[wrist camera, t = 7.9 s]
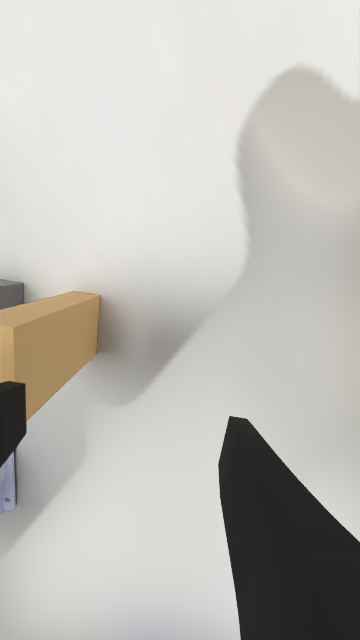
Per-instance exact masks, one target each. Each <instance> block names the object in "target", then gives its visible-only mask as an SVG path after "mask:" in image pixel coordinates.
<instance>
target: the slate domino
mask: <svg viewBox="0 0 360 640" xmlns="http://www.w3.org/2000/svg"><path fill="white" fill-rule="evenodd" d="M21 304H24V283H19V282H13V281H6V280H0V310H2V309H6V308H10V307H14V306H17V305H21Z"/></svg>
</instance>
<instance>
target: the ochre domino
mask: <svg viewBox="0 0 360 640" xmlns="http://www.w3.org/2000/svg"><path fill="white" fill-rule="evenodd" d="M99 308H100V295H96V294H90V293H83V292H77V291H73V292H69V293H65V294H61V295H57V296H53V297H49V298H45V299H41V300H37V301H33V302H29V303H25V304H21V305H17V306H14V307H10V308H6V309H2V310H0V383H2V382H6V381H13V382H19V383H26V421H27V420H28V419H29V418H30V417H31V416H32V415H33V414H34V413H35V412H36V411H38V410H39V409H40V408H41V407H42V406H43V405H44V404H45V403H46V402H47V401H48V400H49V399H50V398H51V397H52V396H53V395H54V394H55V393H56V392H57V391H58V390H59V389H60V388H61V387H62V386H63V385H64V384H65V383H66V382H67V381H69V380H70V379H71V378H72V377H73V376H74V375H75V374H76V373H77V372H78V371H79V370H80V369H81V368H82V367H83V366H84V365H85V364H86V363H87V362H88V361H89V360H90V359H91V358H92V357H93V356H94V355H95V354H96V351H97V337H98V322H99Z"/></svg>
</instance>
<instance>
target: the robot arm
mask: <svg viewBox="0 0 360 640" xmlns="http://www.w3.org/2000/svg"><path fill="white" fill-rule="evenodd" d="M25 434H26V383H19V382H13V381H6V382H2V383H0V513H1V511H2V510H3V511H12V510H13V509H14V508H15V505H16V502H15V473H14V450H15V449H16V447H17V446H18V444H19V443H20V441H21V440H22V439H23V437H24V436H25ZM218 466H219V485H220V499H221V505H222V511H223V518H224V524H225V531H226V537H227V543H228V549H229V555H230V561H231V567H232V573H233V579H234V585H235V592H236V600H237V607H238V615H239V624H240V636H241V640H360V542H359V541H358V540H357V539H356V538H355V537H354V536H353V535H352V534H350V532H348V530H346V529H345V528H344V527H343V526H342V525H341V524H340V523H339V522H338V521H337V520H336V519H335V518H334V517H333V516H332V515H331V514H330V513H329V512H328V511H327V510H326V509H325V508H324V507H323V505H322V504H321V503H320V502H319V501H318V500H317V499H316V498H315V497H314V496H313V495H312V494H311V493H310V492H309V491H308V490H307V488H306V487H304V485H303V484H302V483H301V482H300V481H299V480H298V479H297V477H296V476H295V475H294V474H293V473H292V472H291V471H290V470H289V468H288V467H287V466H286V465H285V464H284V463H283V462H282V460H281V459H280V458H279V457H278V456H277V454H276V453H275V452H274V451H273V450H272V448H271V447H270V446H269V445H268V444H267V442H266V441H265V440H264V439H263V437H262V436H261V435H260V434H259V433H258V431H257V430H256V429H255V428H254V426H253V425H252V424H251V423H250V422H249V421H248V420H247V419H245V418H239V417H232V416H230V417H229V420H228V425H227V429H226V434H225V438H224V442H223V446H222V451H221V456H220V460H219V464H218Z"/></svg>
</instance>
